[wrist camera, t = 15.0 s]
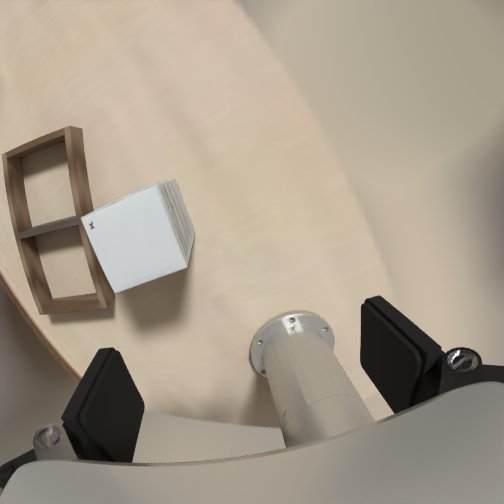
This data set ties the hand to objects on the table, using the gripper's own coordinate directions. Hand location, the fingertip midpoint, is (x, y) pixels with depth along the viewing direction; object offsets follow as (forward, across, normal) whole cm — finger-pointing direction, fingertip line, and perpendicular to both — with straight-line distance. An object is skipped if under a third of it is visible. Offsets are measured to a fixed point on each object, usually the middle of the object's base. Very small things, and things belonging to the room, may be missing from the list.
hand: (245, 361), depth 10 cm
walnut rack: (+26, +22, -6) cm, 34 cm away
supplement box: (+26, +8, -3) cm, 27 cm away
